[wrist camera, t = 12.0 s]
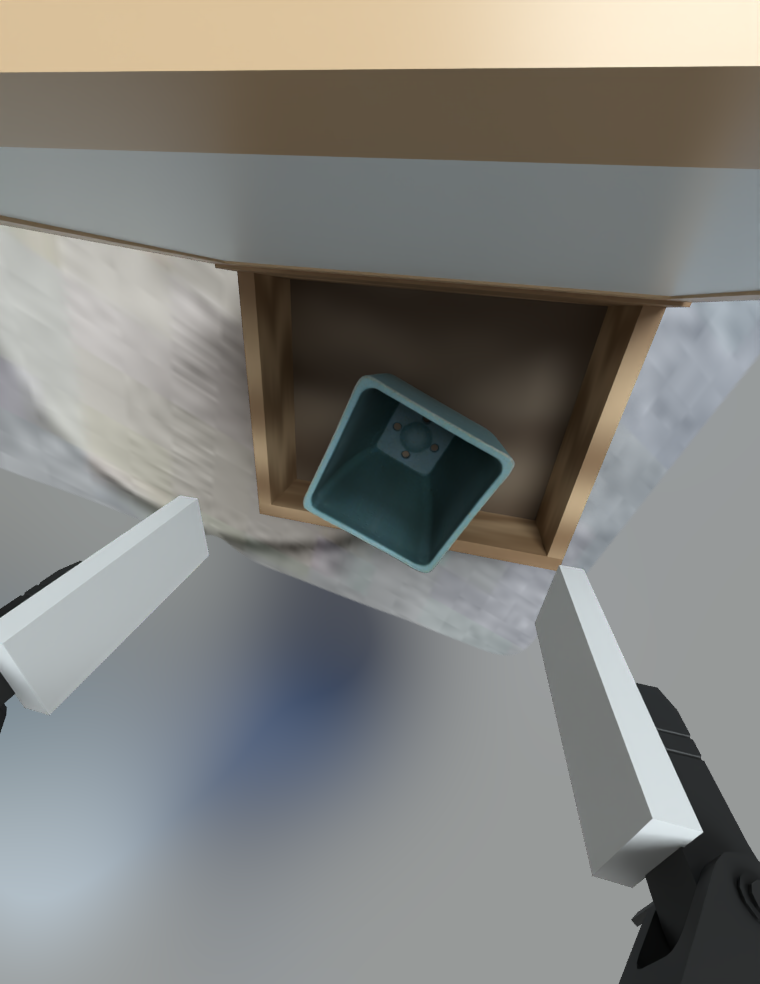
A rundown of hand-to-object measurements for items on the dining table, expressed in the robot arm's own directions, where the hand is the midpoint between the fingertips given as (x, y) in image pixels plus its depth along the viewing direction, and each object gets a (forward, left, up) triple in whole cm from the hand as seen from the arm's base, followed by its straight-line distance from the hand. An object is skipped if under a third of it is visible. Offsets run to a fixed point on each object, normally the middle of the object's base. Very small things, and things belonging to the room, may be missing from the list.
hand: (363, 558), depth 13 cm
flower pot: (0, 0, -16) cm, 16 cm away
